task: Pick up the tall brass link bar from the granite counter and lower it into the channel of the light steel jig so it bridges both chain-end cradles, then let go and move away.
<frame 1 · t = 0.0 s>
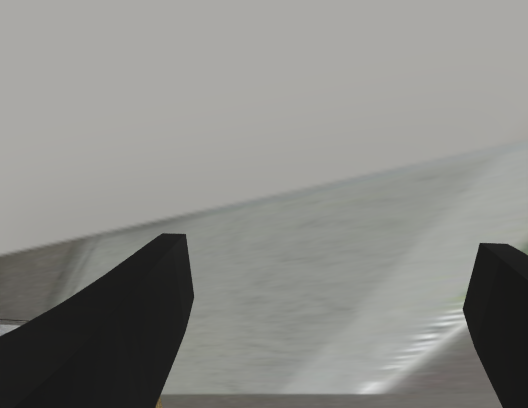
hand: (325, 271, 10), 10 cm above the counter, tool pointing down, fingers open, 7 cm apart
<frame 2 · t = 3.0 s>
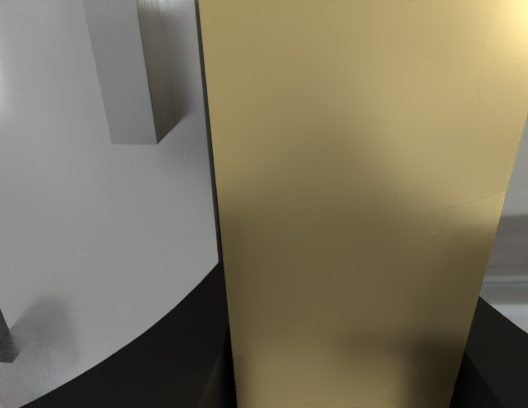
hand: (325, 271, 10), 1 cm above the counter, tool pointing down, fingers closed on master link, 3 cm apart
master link: (323, 239, 12), on the counter, touching gripper
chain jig: (88, 234, 12), on the counter
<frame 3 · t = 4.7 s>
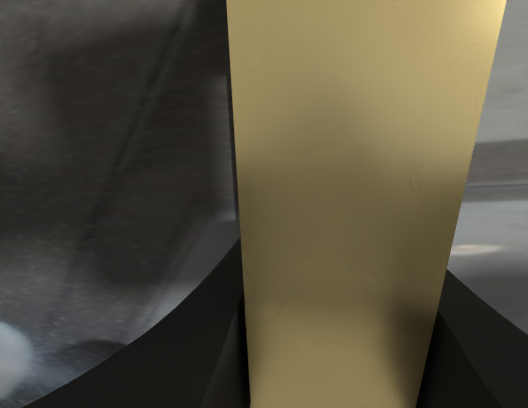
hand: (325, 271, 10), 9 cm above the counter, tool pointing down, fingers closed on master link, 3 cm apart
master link: (322, 219, 13), point 6 cm above the counter, touching gripper
when the fingers open (3 cm above the counter, at t = 6.4 s): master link stays where it is, resting on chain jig.
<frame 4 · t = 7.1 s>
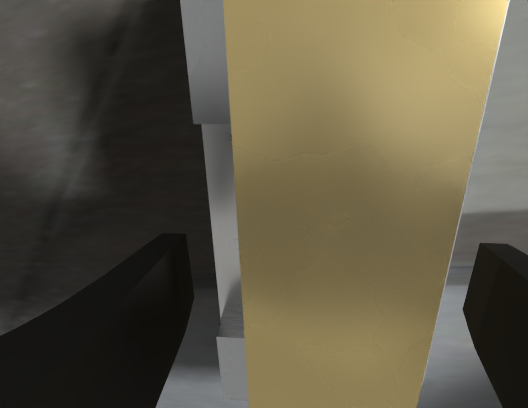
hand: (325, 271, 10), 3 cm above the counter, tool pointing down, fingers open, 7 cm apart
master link: (322, 220, 12), resting on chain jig
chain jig: (322, 215, 13), on the counter
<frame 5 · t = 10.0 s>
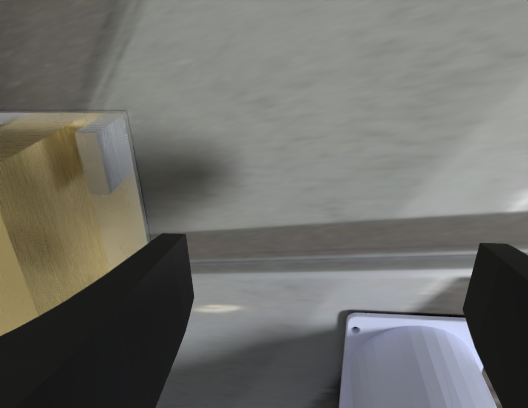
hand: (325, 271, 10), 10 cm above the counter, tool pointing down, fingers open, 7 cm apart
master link: (76, 237, 22), resting on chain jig
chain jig: (80, 234, 23), on the counter
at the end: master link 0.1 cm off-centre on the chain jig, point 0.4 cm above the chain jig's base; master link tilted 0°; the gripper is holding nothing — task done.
